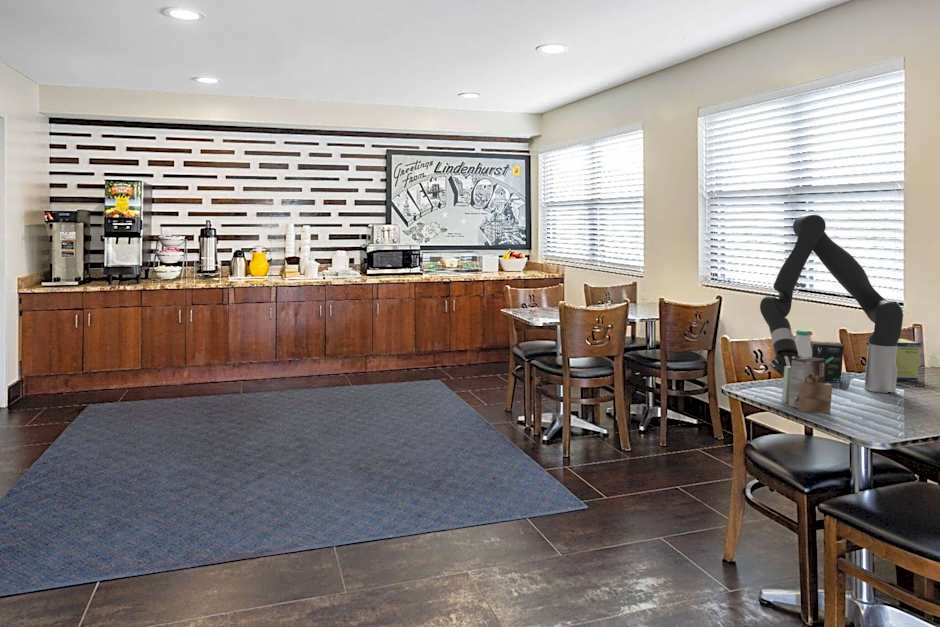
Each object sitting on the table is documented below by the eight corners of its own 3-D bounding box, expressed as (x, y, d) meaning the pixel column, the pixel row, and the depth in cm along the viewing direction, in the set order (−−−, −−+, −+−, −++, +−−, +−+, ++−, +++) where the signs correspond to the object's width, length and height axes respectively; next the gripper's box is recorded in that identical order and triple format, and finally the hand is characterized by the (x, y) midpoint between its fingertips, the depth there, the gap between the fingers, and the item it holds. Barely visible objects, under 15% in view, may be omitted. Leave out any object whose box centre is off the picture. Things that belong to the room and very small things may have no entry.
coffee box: (807, 403, 244) (811, 356, 242) (823, 407, 238) (827, 359, 236) (787, 405, 240) (790, 357, 238) (803, 409, 234) (806, 361, 232)
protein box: (918, 381, 285) (922, 342, 283) (878, 380, 285) (882, 341, 283) (902, 376, 295) (906, 338, 293) (864, 375, 295) (867, 337, 293)
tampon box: (837, 378, 287) (840, 342, 286) (841, 383, 279) (844, 345, 277) (807, 376, 291) (810, 340, 289) (810, 380, 282) (813, 343, 280)
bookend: (805, 401, 246) (808, 366, 245) (809, 403, 243) (812, 368, 242) (782, 400, 247) (784, 366, 245) (785, 402, 244) (788, 367, 242)
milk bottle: (805, 380, 283) (809, 329, 280) (813, 384, 275) (817, 332, 273) (785, 379, 284) (789, 328, 281) (792, 383, 276) (796, 331, 274)
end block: (825, 410, 234) (828, 383, 233) (830, 412, 231) (832, 385, 230) (797, 409, 235) (799, 382, 234) (801, 411, 232) (803, 384, 231)
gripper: (768, 337, 254) (777, 378, 244) (806, 338, 254) (818, 380, 243) (761, 349, 260) (771, 390, 250) (799, 350, 260) (810, 391, 249)
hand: (794, 385), depth 246 cm, fingers closed
